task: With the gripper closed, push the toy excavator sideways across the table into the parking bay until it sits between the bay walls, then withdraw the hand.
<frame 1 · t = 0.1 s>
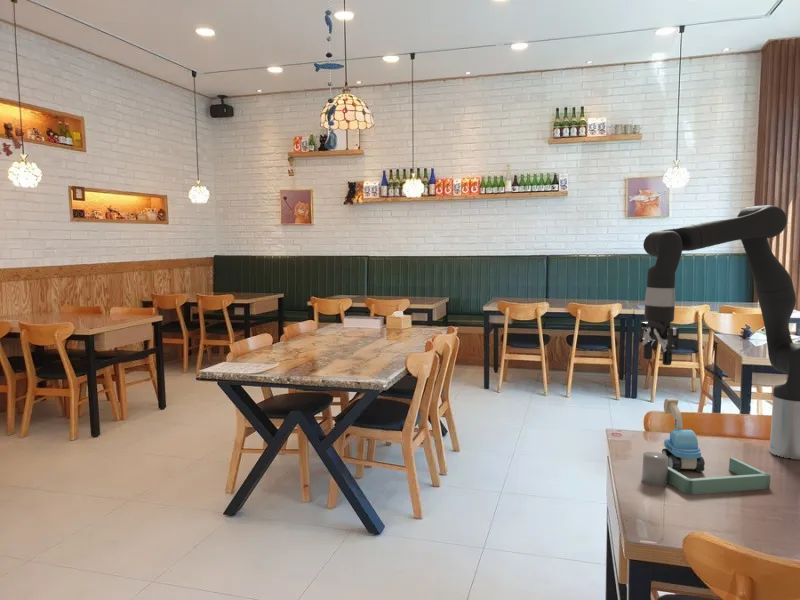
hand: (656, 361, 164), 29 cm above the table, fingers open, 8 cm apart
toy excavator: (678, 463, 167), on the table
grey upright cylinder: (654, 481, 154), on the table
bay: (710, 481, 155), on the table
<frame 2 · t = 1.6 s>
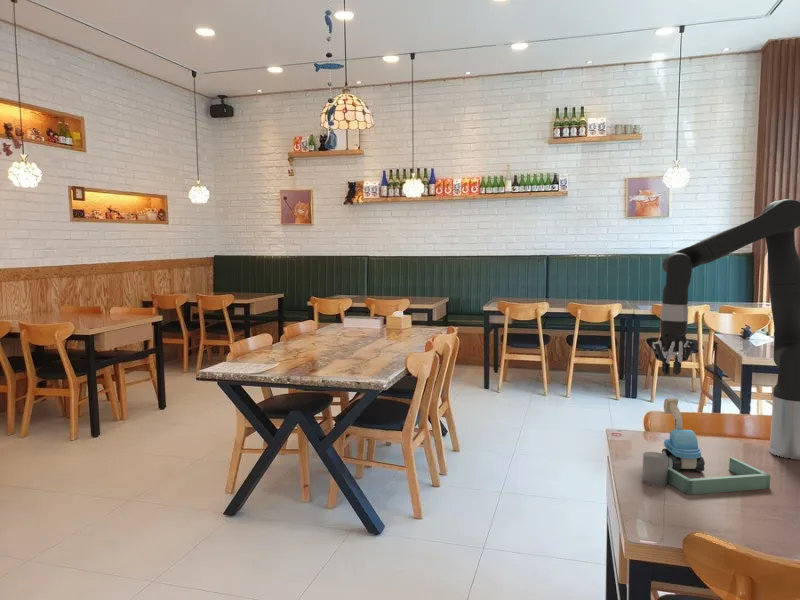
hand: (671, 374, 181), 22 cm above the table, fingers open, 3 cm apart
nothing on the table moved.
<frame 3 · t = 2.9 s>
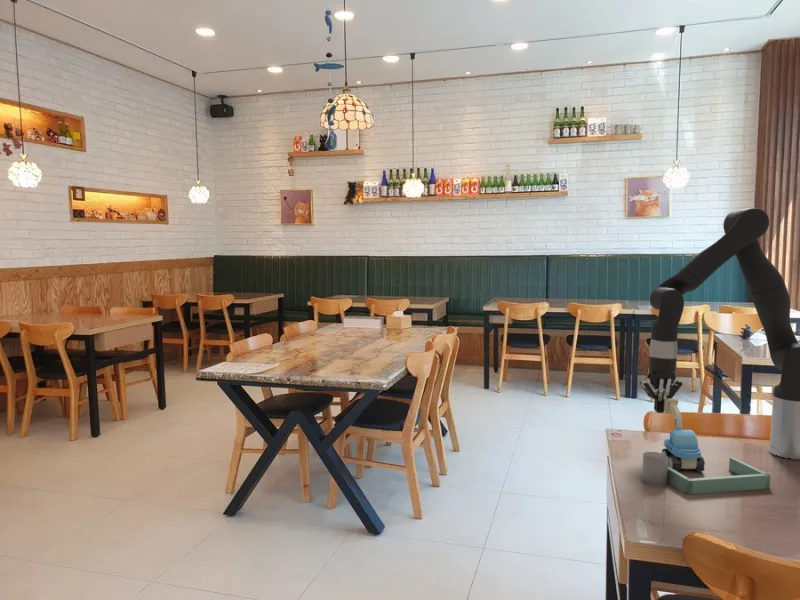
hand: (659, 412, 176), 12 cm above the table, fingers closed
nothing on the table moved.
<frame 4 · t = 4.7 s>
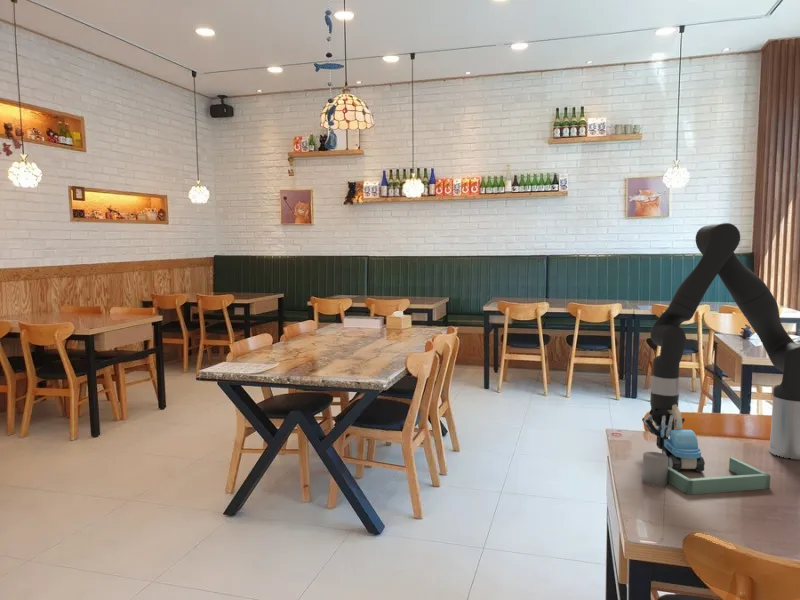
hand: (661, 448, 175), 1 cm above the table, fingers closed
nothing on the table moved.
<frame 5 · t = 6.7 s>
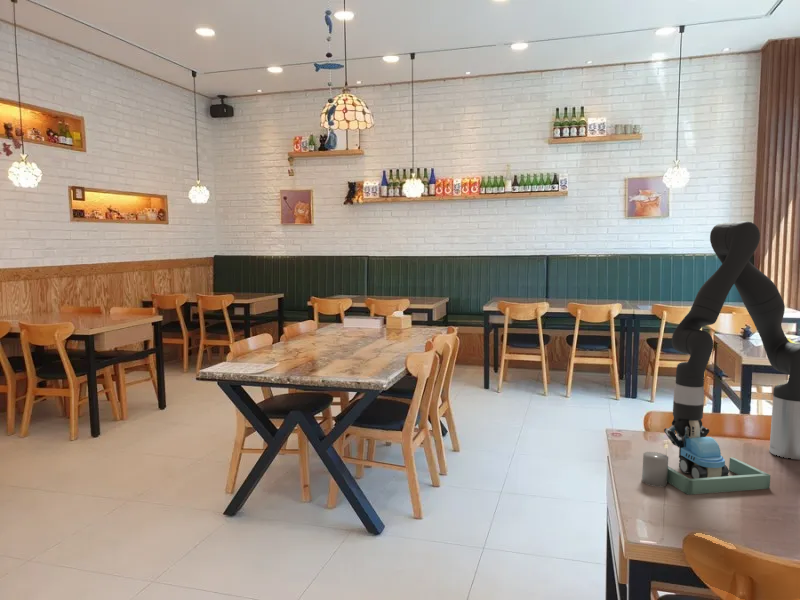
hand: (684, 461, 164), 2 cm above the table, fingers closed
toy excavator: (696, 472, 161), on the table, touching hand
everything else where it was.
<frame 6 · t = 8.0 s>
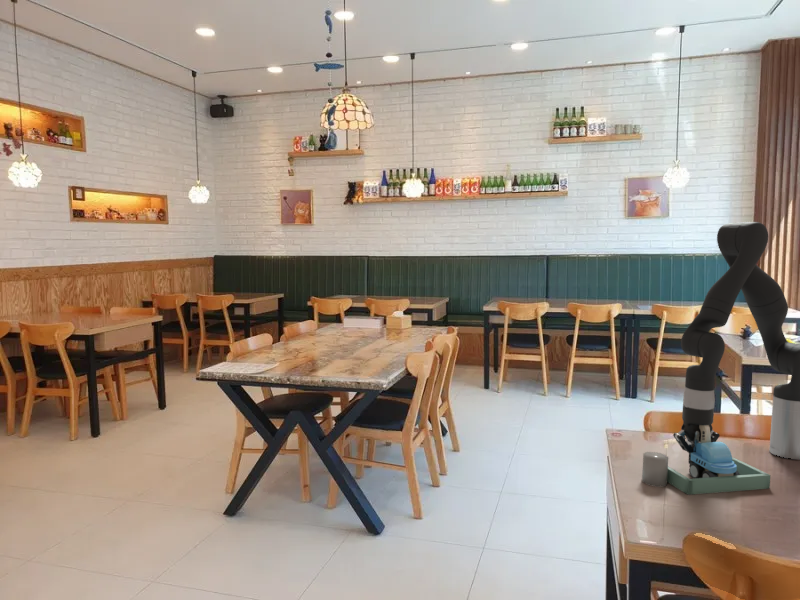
hand: (694, 466, 161), 2 cm above the table, fingers closed
toy excavator: (706, 478, 157), on the table, touching bay, hand
everything else where it was.
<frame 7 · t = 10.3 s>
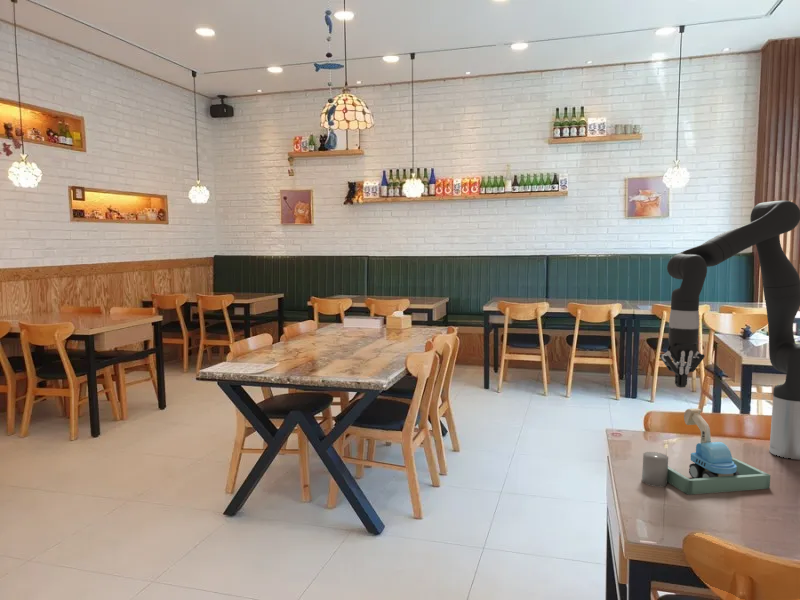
hand: (680, 386, 166), 22 cm above the table, fingers closed
toy excavator: (706, 478, 157), on the table
everything else where it was.
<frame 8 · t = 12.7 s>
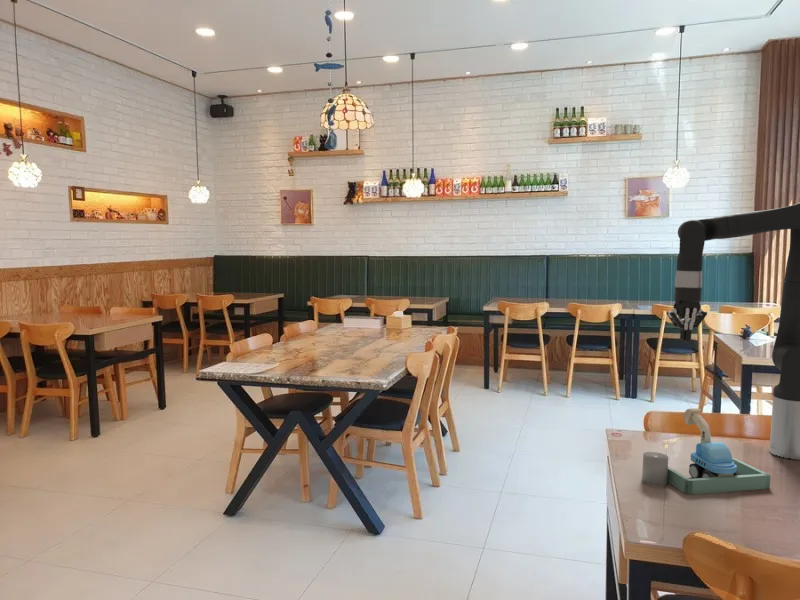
hand: (685, 341, 182), 32 cm above the table, fingers closed
nothing on the table moved.
at the end: toy excavator inside the target area on the bay (2.3 cm from its centre), point 0.0 cm above the bay's base; toy excavator tilted 0° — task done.
